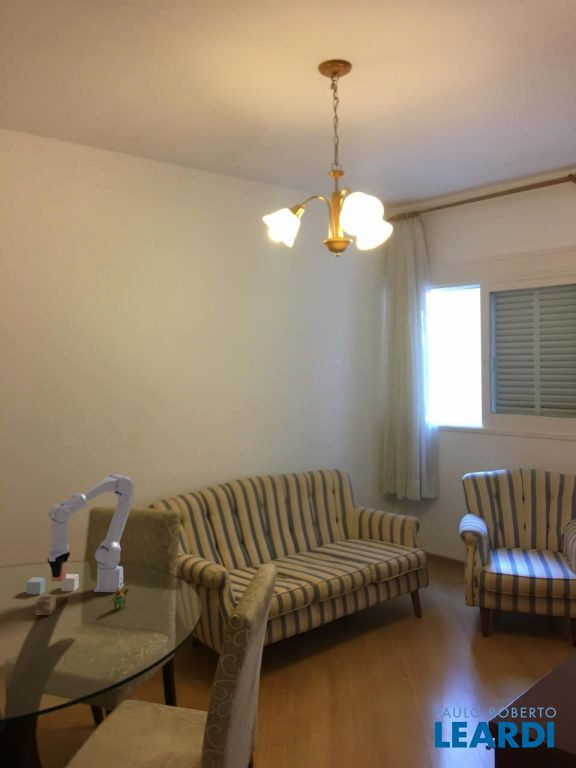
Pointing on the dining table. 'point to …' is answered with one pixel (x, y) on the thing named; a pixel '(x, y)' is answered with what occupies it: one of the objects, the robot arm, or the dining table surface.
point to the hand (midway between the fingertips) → (58, 574)
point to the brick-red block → (62, 574)
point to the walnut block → (45, 605)
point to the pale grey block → (70, 582)
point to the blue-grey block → (36, 585)
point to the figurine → (120, 597)
